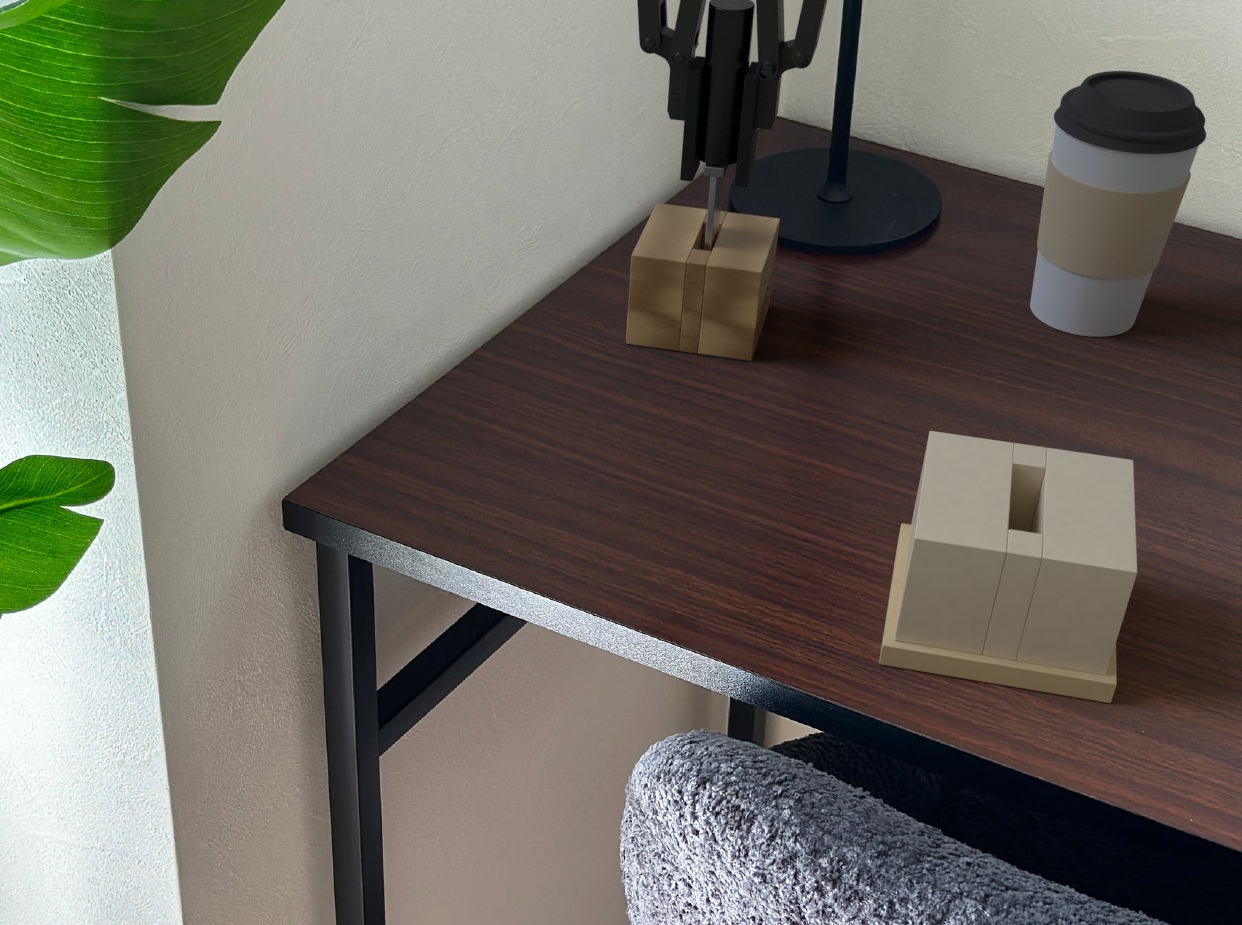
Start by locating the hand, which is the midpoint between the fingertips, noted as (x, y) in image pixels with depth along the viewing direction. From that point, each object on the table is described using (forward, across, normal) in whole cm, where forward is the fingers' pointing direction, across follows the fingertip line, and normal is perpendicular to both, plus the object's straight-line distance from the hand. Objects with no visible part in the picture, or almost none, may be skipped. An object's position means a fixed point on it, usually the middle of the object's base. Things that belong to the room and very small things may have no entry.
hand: (717, 174), depth 104 cm
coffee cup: (+10, +24, +9) cm, 27 cm away
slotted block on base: (+10, +20, -27) cm, 35 cm away
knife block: (+10, 0, 0) cm, 10 cm away
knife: (+8, 0, 0) cm, 8 cm away
